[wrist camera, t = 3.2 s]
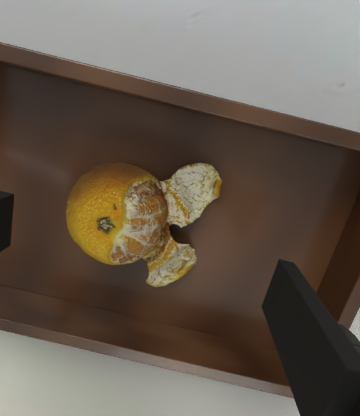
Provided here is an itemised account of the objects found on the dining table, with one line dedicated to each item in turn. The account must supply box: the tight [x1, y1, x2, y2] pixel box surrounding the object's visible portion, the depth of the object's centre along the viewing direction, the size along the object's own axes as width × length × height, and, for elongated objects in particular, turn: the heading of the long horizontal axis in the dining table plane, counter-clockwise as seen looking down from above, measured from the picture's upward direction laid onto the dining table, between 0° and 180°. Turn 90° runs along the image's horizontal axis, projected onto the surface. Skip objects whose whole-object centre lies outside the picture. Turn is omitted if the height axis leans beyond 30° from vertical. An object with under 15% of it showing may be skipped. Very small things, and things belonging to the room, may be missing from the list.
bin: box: [0, 42, 360, 398], centre depth 17 cm, size 25×16×3 cm, turn 77°
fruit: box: [66, 161, 222, 287], centre depth 16 cm, size 8×8×4 cm
